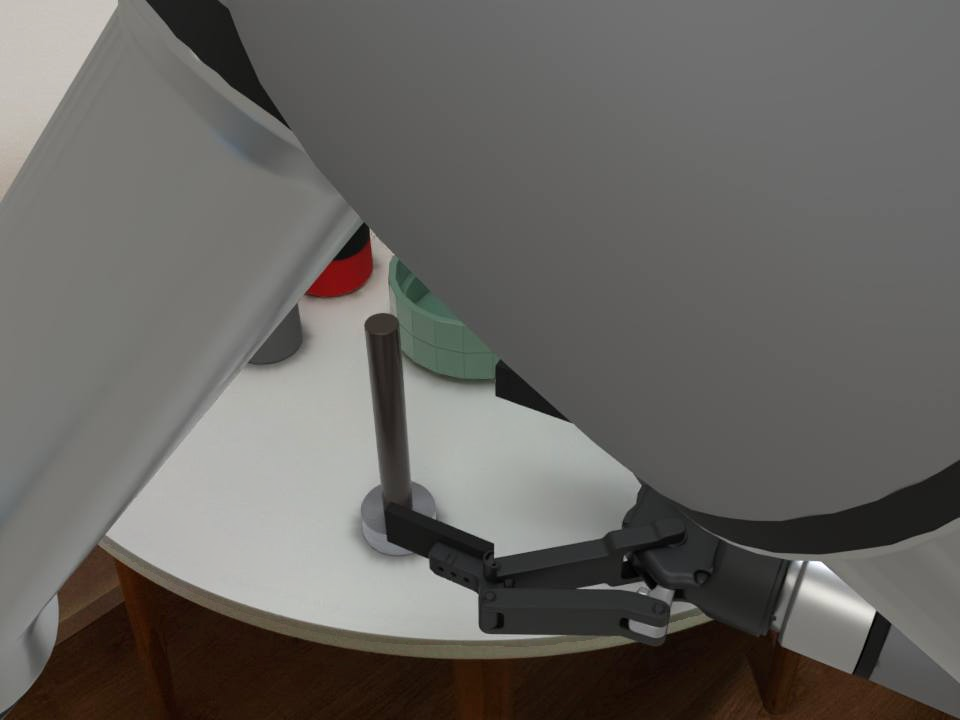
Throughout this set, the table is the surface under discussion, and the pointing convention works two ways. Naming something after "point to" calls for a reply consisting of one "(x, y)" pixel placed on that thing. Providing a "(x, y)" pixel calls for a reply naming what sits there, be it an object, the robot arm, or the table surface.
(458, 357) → the mixing bowl
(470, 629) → the table surface
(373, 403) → the dark rod on disc
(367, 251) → the soda can
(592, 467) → the table surface
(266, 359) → the bottle
